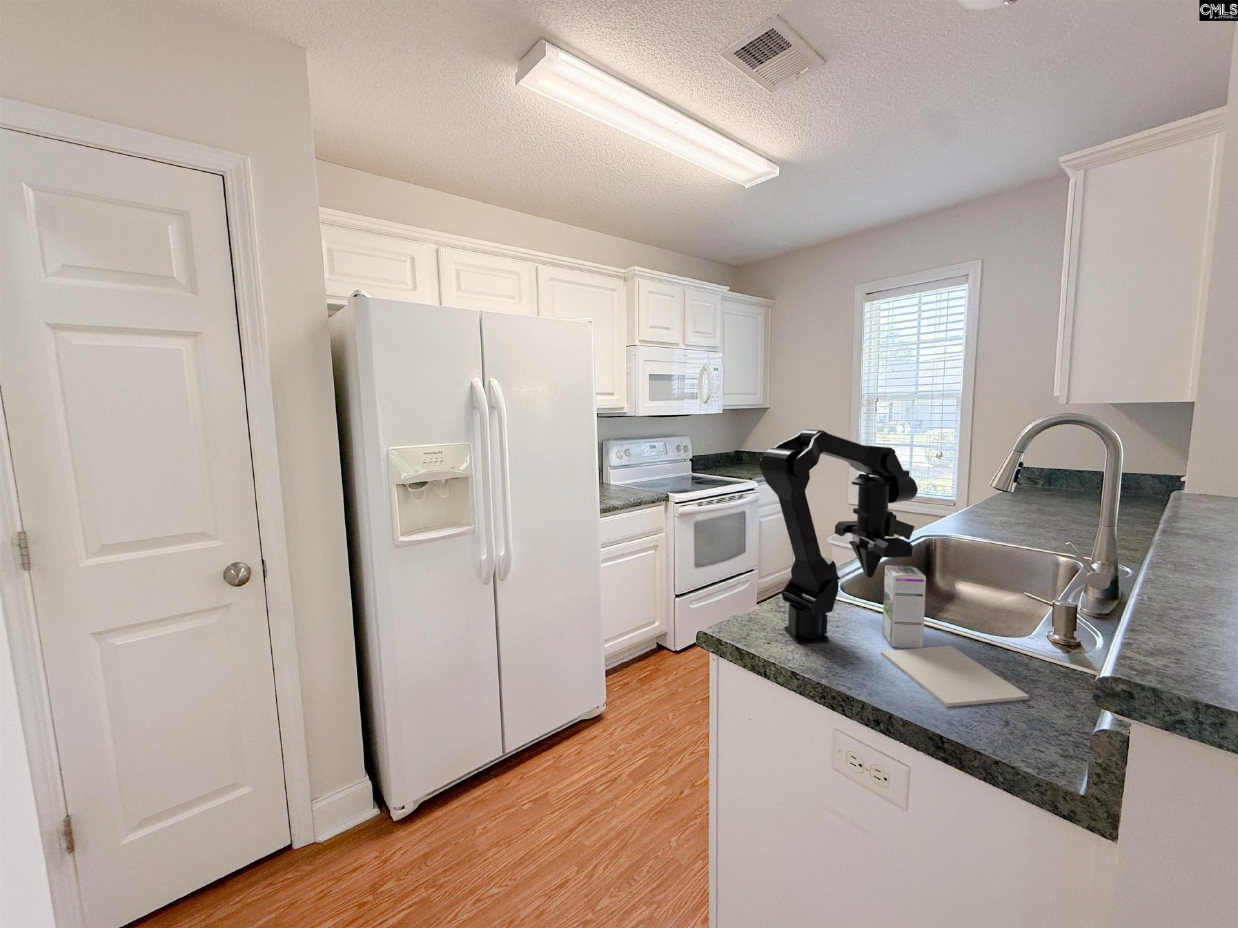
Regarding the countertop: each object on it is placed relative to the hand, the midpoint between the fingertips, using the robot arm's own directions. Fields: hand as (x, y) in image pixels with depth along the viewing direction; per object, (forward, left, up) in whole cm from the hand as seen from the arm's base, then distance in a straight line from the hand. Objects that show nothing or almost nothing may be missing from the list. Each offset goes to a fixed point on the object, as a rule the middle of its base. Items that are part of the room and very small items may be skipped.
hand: (869, 576), depth 107 cm
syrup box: (0, -11, -9) cm, 14 cm away
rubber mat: (0, -23, -9) cm, 25 cm away
